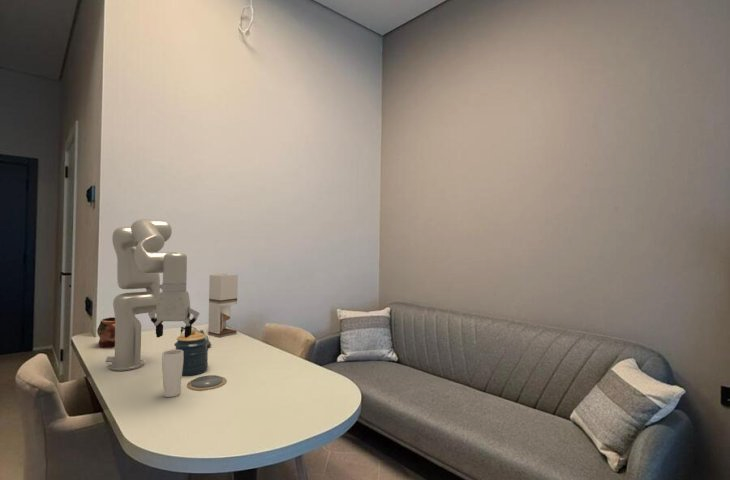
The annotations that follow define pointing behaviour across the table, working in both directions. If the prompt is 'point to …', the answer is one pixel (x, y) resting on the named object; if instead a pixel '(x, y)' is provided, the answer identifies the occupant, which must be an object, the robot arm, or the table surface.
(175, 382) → the drinking glass
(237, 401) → the table surface
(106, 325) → the decorative planter
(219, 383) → the round coaster
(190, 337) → the canister
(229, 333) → the notched white tower
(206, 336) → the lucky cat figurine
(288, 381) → the table surface
